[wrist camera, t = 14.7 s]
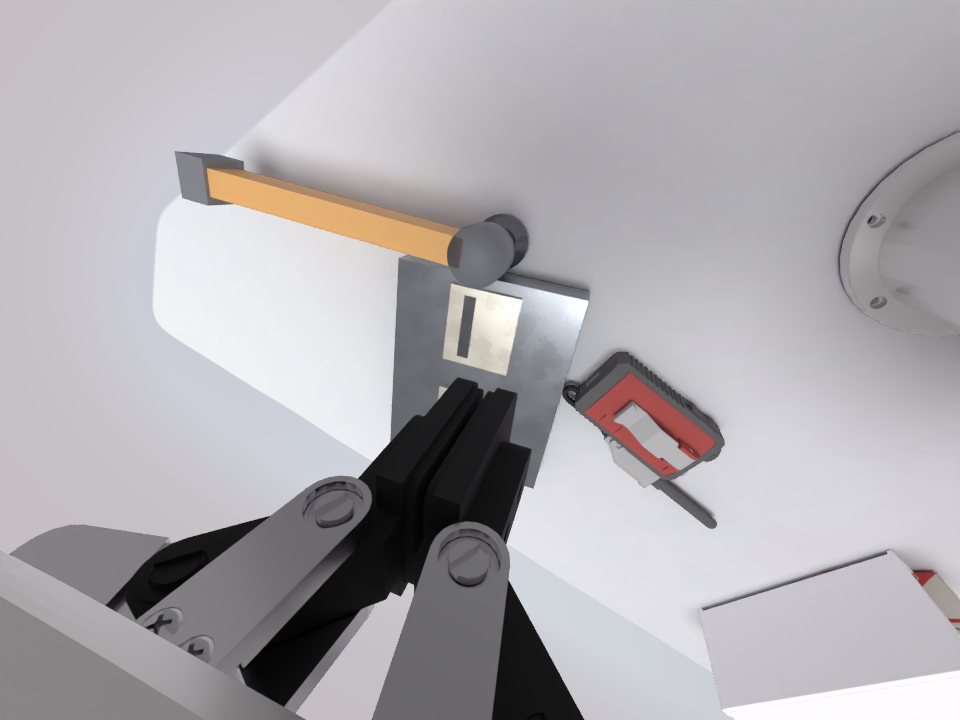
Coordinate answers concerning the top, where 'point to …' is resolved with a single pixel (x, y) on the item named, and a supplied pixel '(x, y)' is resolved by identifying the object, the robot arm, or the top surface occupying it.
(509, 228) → the pivot post
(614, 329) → the top surface
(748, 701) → the cigarette display
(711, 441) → the walkie-talkie
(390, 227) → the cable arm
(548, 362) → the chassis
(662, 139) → the top surface
